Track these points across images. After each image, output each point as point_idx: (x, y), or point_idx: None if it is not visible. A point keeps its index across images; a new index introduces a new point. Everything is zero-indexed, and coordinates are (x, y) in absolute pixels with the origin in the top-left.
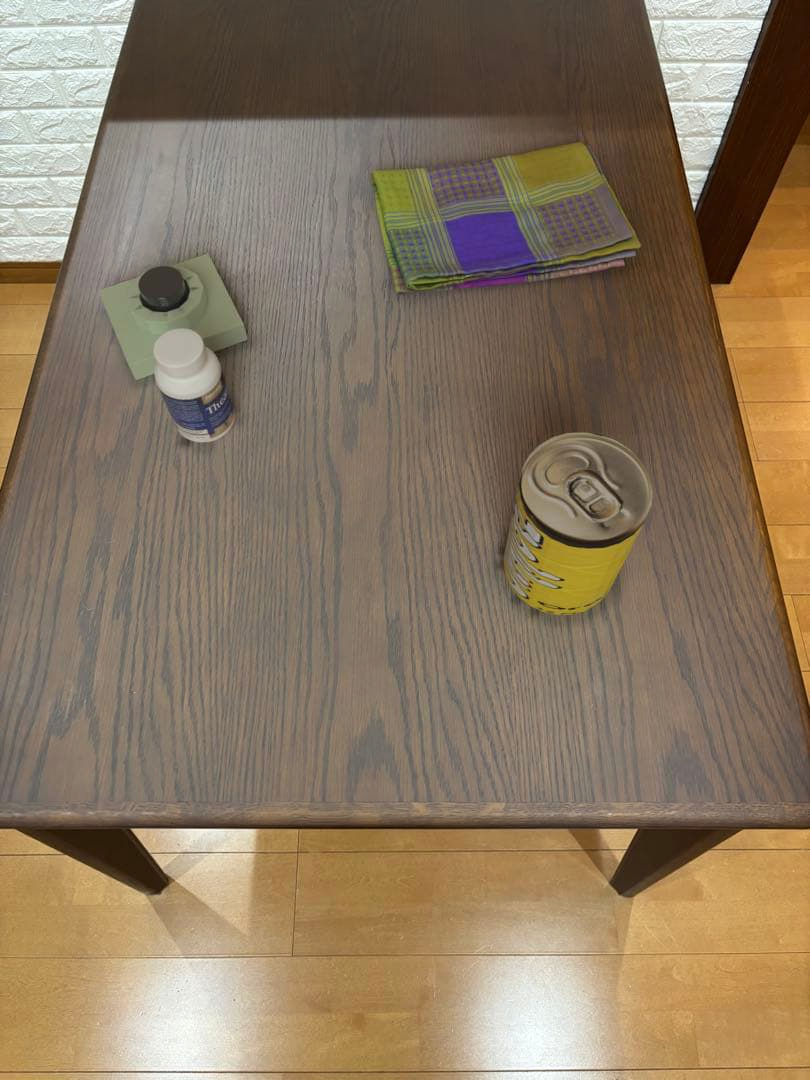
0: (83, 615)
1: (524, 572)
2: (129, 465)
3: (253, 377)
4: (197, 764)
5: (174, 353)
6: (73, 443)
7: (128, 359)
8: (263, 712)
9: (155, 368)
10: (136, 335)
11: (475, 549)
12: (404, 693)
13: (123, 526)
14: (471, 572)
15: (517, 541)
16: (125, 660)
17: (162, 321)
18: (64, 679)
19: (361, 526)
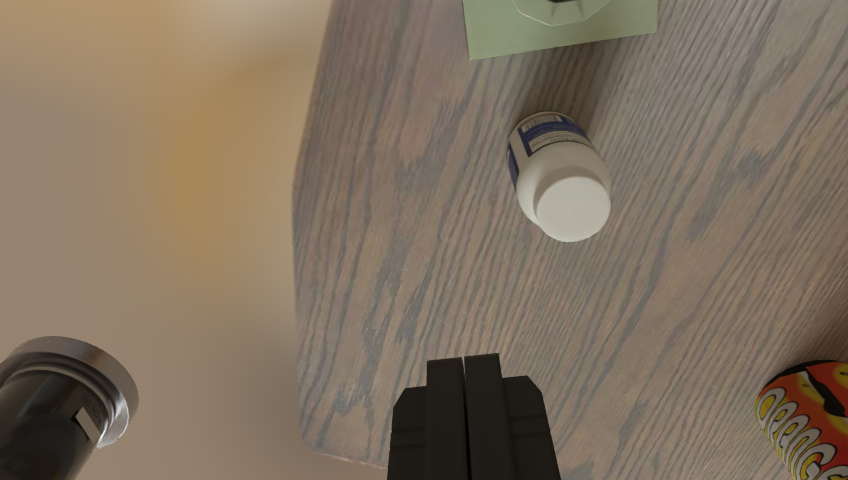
0: (367, 331)
1: (781, 455)
2: (436, 184)
3: (626, 98)
4: None
5: (565, 218)
6: (371, 132)
7: (471, 48)
8: None
9: (523, 181)
10: (492, 1)
11: (748, 370)
12: (620, 453)
13: (418, 256)
14: (730, 387)
15: (799, 468)
16: (401, 376)
17: (544, 23)
18: (347, 377)
19: (657, 322)
